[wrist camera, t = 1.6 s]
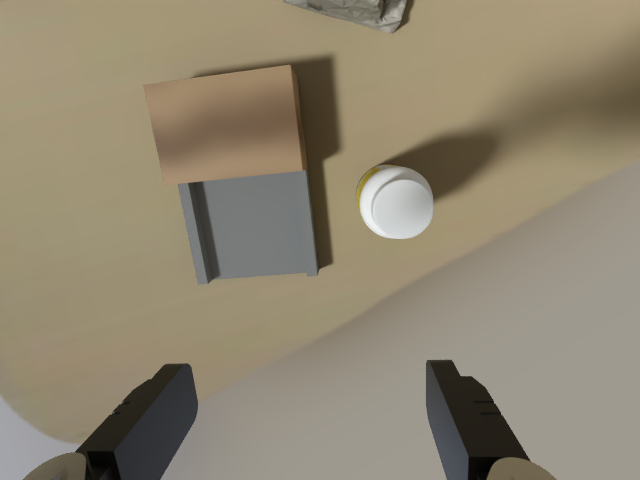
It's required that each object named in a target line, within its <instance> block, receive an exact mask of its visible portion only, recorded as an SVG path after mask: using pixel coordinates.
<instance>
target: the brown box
mask: <svg viewBox="0 0 640 480" xmlns="http://www.w3.org/2000/svg"><path fill="white" fill-rule="evenodd" d="M143 86H144V91H145V95H146V100H147V105H148V109H149V114H150V119H151V123H152V128H153V133H154V137H155V142H156V147H157V152H158V156H159V161H160V166H161V170H162V175H163V180H164V184H165V185H172V184H182V183H191V182H200V181H210V180H219V179H229V178H238V177H248V176H257V175H267V174H276V173H285V172H295V171H303V170H307V169H308V166H307V157H306V148H305V139H304V130H303V121H302V112H301V103H300V94H299V85H298V77H297V75H296V74H295V72H294V70H293V68H292V67H291V65H284V66H276V67H269V68H262V69H255V70H248V71H240V72H233V73H226V74H219V75H211V76H204V77H197V78H190V79H182V80H175V81H168V82H161V83H154V84H146V85H143Z"/></svg>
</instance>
